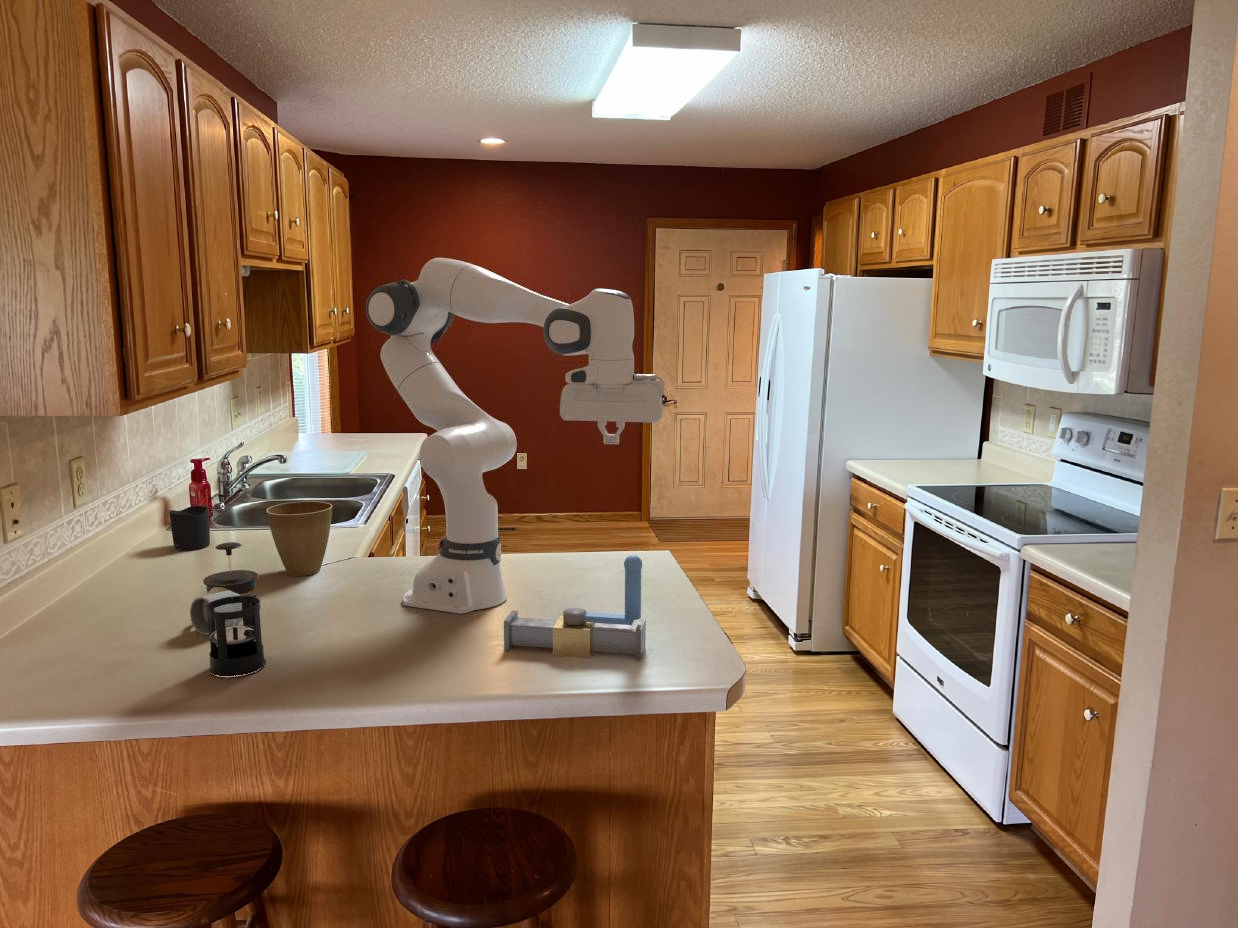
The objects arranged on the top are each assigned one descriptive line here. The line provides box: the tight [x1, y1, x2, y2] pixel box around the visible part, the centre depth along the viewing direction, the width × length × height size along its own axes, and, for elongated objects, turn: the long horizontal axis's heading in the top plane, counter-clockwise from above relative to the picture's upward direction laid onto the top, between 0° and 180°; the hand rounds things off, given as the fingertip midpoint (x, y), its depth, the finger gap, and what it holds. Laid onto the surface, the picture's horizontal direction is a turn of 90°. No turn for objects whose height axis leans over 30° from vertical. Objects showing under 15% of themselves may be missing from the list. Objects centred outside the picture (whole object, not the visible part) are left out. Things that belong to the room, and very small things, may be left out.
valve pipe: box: [503, 609, 647, 662], centre depth 170 cm, size 26×6×6 cm, turn 80°
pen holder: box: [168, 505, 211, 552], centre depth 238 cm, size 9×9×10 cm
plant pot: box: [265, 500, 333, 577], centre depth 217 cm, size 15×15×16 cm
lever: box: [562, 554, 643, 625], centre depth 168 cm, size 15×4×13 cm, turn 80°
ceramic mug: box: [189, 590, 243, 636], centre depth 181 cm, size 11×8×8 cm
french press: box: [202, 541, 267, 676], centre depth 161 cm, size 12×9×23 cm
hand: (611, 443), depth 179 cm, fingers closed
